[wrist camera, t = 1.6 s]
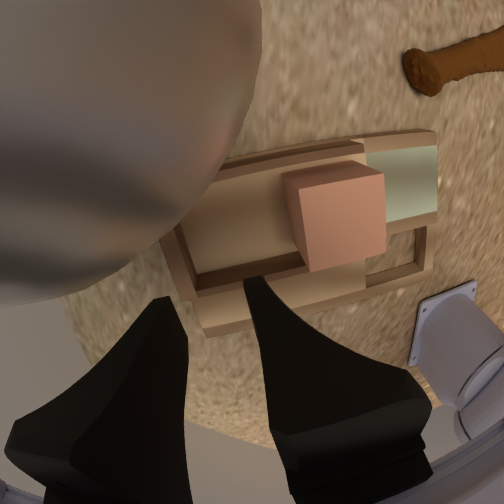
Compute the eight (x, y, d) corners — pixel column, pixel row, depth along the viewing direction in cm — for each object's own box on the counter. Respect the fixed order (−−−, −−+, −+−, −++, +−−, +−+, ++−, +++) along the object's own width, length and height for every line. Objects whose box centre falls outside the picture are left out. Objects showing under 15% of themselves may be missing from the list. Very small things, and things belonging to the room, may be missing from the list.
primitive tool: (510, 22, 13) (533, 21, 10) (527, 70, 15) (550, 72, 12) (389, 53, 16) (418, 47, 12) (418, 120, 18) (448, 126, 15)
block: (357, 226, 19) (386, 252, 15) (293, 241, 19) (310, 272, 15) (351, 159, 17) (383, 173, 13) (281, 172, 17) (298, 189, 13)
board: (422, 268, 23) (444, 289, 20) (206, 325, 23) (206, 356, 20) (423, 128, 18) (453, 135, 15) (155, 178, 18) (142, 192, 15)
